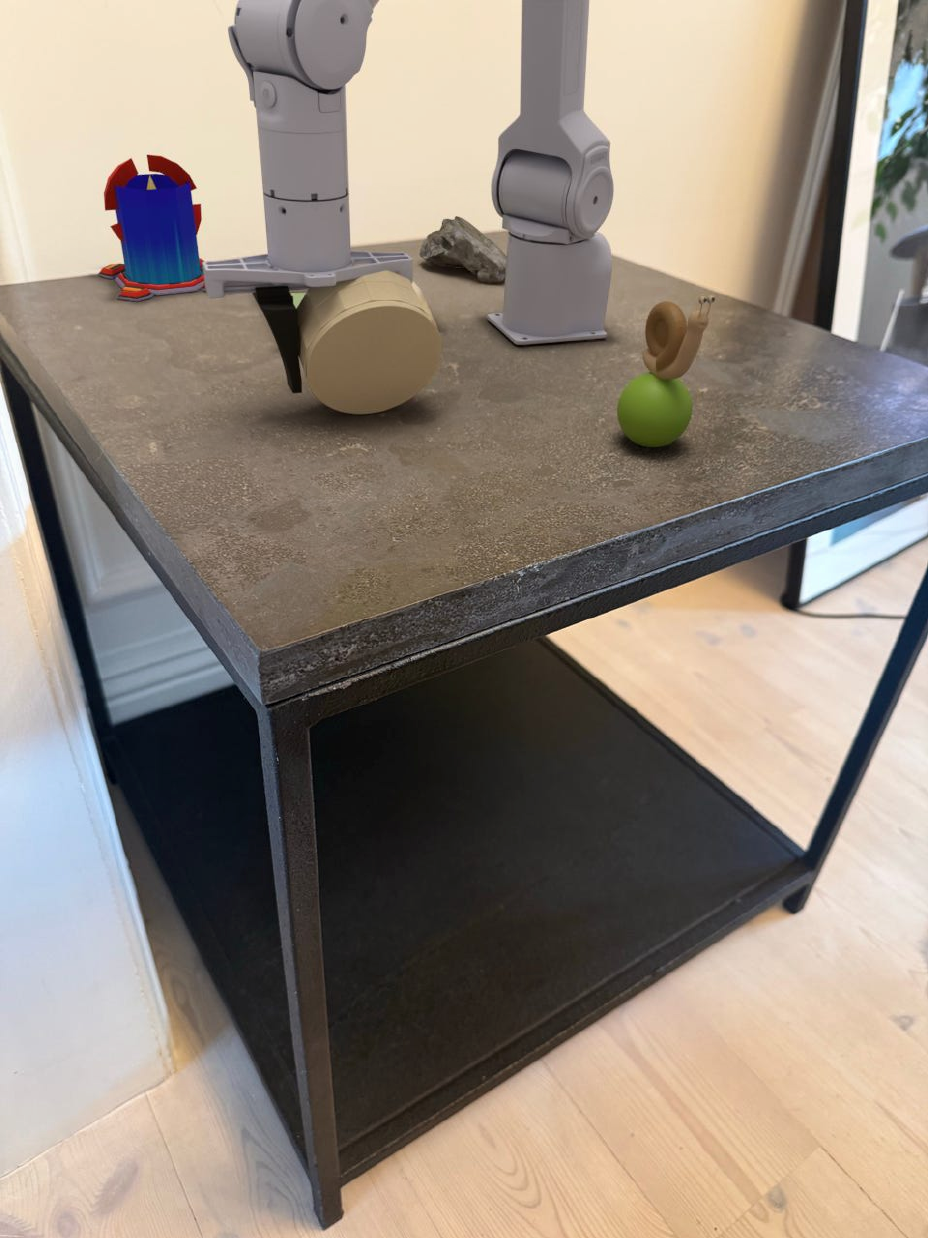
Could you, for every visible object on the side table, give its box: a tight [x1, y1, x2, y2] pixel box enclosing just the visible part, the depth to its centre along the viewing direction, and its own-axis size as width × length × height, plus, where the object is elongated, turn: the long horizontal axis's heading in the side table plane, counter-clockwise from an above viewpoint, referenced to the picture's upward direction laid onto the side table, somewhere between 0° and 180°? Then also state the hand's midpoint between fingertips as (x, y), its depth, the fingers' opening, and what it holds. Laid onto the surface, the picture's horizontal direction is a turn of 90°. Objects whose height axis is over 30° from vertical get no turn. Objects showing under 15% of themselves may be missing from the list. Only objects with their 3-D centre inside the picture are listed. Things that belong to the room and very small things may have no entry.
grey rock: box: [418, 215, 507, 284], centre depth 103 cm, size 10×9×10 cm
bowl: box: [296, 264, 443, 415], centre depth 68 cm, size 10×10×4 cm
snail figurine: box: [616, 294, 716, 448], centre depth 65 cm, size 5×6×12 cm
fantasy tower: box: [97, 154, 206, 303], centre depth 93 cm, size 12×12×12 cm
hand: (316, 386), depth 69 cm, fingers closed on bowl, 3 cm apart
